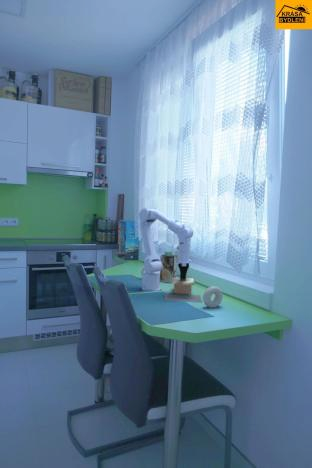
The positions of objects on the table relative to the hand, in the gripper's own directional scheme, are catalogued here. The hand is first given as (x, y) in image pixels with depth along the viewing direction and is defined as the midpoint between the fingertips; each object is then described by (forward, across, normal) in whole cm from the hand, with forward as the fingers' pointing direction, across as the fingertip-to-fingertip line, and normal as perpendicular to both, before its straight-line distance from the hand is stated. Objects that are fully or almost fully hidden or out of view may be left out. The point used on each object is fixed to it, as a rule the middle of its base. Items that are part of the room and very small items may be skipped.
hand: (183, 278), depth 171 cm
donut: (+9, -18, -13) cm, 25 cm away
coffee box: (+10, +33, +8) cm, 36 cm away
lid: (+2, 0, 0) cm, 2 cm away
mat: (+9, -6, 0) cm, 11 cm away
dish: (+9, +8, 0) cm, 12 cm away
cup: (+10, +37, +20) cm, 44 cm away
